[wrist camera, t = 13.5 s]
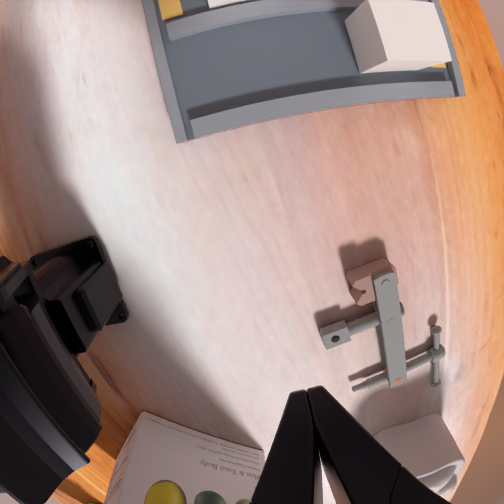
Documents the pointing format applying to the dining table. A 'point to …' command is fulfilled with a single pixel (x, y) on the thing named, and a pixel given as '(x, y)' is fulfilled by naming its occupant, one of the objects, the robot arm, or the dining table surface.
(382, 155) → the dining table surface
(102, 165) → the dining table surface
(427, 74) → the grey tray
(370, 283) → the clamp
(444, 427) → the lumpy-topped squat cylinder
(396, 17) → the white block
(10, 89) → the dining table surface
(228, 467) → the supplement box
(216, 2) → the beige block
